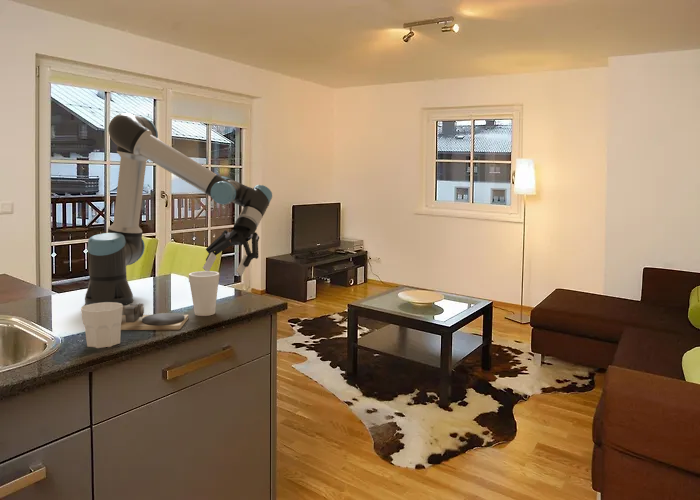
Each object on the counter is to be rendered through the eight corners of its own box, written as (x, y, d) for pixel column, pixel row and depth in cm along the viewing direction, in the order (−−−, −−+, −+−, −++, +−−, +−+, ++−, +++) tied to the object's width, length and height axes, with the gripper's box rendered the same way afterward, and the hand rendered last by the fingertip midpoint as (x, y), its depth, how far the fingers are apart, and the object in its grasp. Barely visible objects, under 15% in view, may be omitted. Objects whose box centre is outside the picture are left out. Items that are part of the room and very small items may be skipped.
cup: (74, 346, 142) (72, 309, 140) (104, 335, 151) (102, 300, 150) (103, 351, 138) (102, 313, 137) (132, 340, 148) (131, 304, 146)
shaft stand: (101, 330, 156) (100, 308, 155) (115, 318, 168) (114, 299, 167) (179, 329, 158) (179, 308, 157) (188, 318, 170) (187, 298, 169)
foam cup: (211, 318, 171) (210, 277, 169) (184, 316, 172) (183, 275, 170) (224, 310, 180) (223, 271, 178) (198, 308, 182) (197, 270, 180)
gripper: (282, 231, 190) (258, 281, 178) (223, 227, 200) (197, 275, 189) (273, 217, 184) (248, 268, 173) (213, 214, 194) (186, 262, 183)
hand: (221, 272), depth 181 cm, fingers open, 13 cm apart
